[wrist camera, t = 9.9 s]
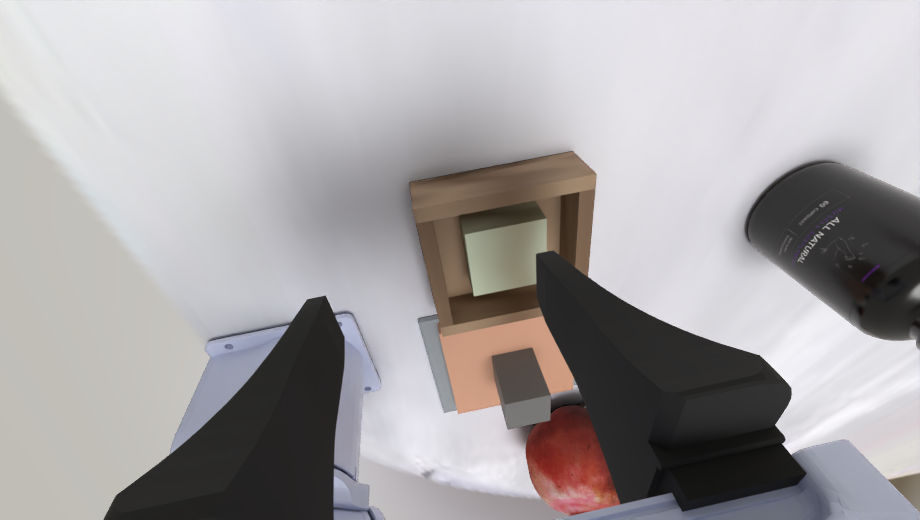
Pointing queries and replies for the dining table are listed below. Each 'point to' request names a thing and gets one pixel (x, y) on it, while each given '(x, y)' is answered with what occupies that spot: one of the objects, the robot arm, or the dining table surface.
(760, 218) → the supplement bottle
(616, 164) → the dining table surface
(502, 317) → the box
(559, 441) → the fruit
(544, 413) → the lid
